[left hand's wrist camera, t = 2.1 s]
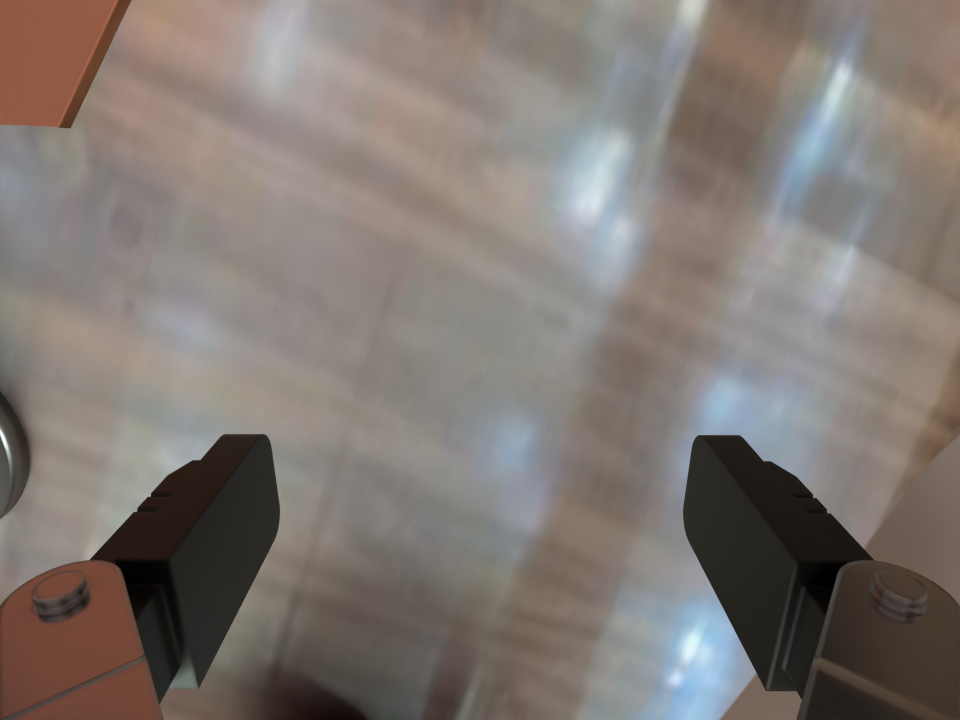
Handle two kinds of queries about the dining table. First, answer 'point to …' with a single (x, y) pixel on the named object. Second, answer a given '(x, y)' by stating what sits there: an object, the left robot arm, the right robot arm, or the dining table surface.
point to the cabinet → (52, 56)
